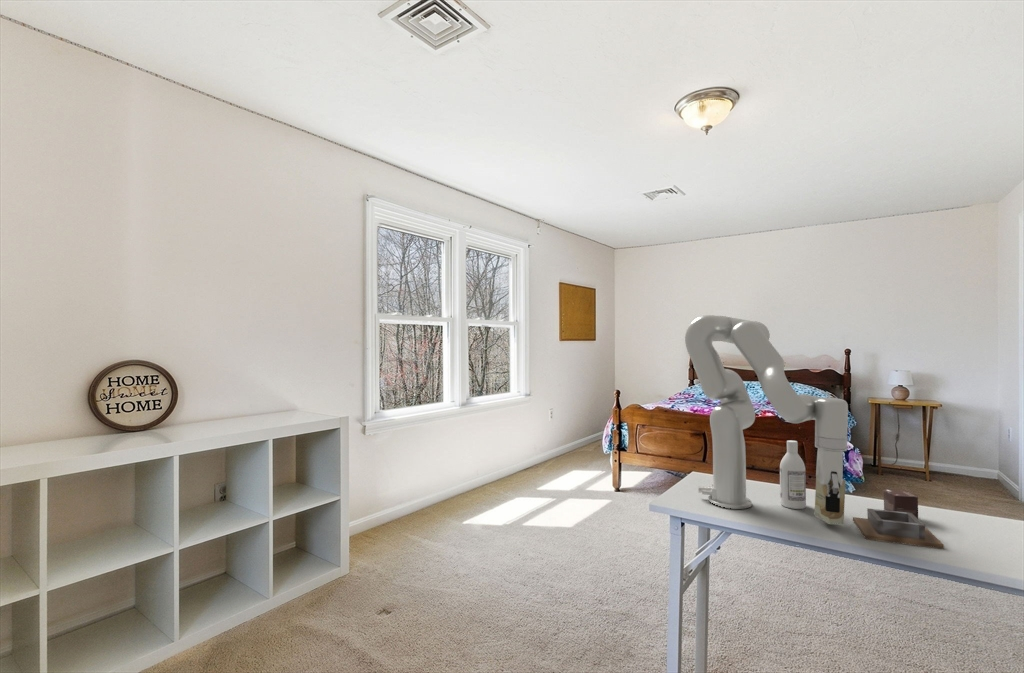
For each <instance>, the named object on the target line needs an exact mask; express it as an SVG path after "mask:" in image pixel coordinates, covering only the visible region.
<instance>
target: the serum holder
mask: <svg viewBox="0 0 1024 673" xmlns="http://www.w3.org/2000/svg"><path fill="white" fill-rule="evenodd" d="M866 509H867V510H866V511H867V514H866V515H867V518H866V517H865V518H864V517H855V516H853V517H852V521H854V522H853V523H854V524H855V526H856V527H857V529H858V528H859V529H858V530H859V532H860V533H861V535H862V536H863V537H864V539H866V540H870V541H878V542H879V541H880V542H887V543H893V542H895V544H902V543H904V545H910V544H911V546H918V545H919V547H925V548H935V549H936V548H937V549H945V546H944V543H943V542H941V540H939V539H938V538H937V536H936V535H935V534H933V533H932V532H931V531H930V529H928V528H927V527H926V525H925V524H924V523H923V522H922V521H921V520H920V519H919V518H918V519H917V518H916V517H915V516H914V515H913V514H912V513H908V512H898V511H888V510H884V509H877V508H869V507H868V508H866Z"/></svg>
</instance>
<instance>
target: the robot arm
mask: <svg viewBox="0 0 1024 673" xmlns="http://www.w3.org/2000/svg"><path fill="white" fill-rule="evenodd" d="M770 335H771V334H770V330H769V329H768V327H767V326H766V325H765V324H763V323H762V322H760V321H756V320H755V321H754V320H748V319H742V318H736V317H732V316H726V315H725V316H724V315H713V314H712V315H711V314H709V315H708V314H705V315H700V316H698V317H697V318H695V319H694V320H692V321H691V322H690V324H689V325H688V327H687V329H686V331H685V336H684V345H685V349H686V350H687V353H688V355H689V357H690V360H691V362H692V365H693V368H694V370H695V371H694V372H695V373H696V376H697V380H698V381H699V384H700V387H701V389H702V391H703V394H704V395H705V397H707V398H708V399H710V400H715V401H716V400H717V401H718V400H719V401H720V403H718V404H717V405H716V406H715V407H714V408H713V409H712V411H711V412H710V415H709V426H710V432H711V438H712V440H711V441H712V482H713V483H712V484H711V485H712V486H708V487H705V486H701V485H700V486H698V493H701V495H707V496H708V497H707V499H708V500H709V501H710V502H711V504H712V503H713V504H715V505H714V506H716V505H718V506H717V507H719V506H721V507H720V508H723V507H725V508H724V509H730V508H731V509H730V510H732V509H733V510H743V509H749V508H750V507H752V506H753V505H752V504H753V502H752V500H751V499H750V498H748V497H747V461H746V460H747V459H746V458H747V457H746V456H747V454H746V441H745V437H744V431H743V430H746V429H748V428H750V427H751V426H752V425H753V424H754V423H755V420H756V410H755V407H754V405H753V402H752V399H751V396H750V395H749V393H748V390H747V388H746V386H745V383H744V380H743V379H742V377H741V376H740V375H739V374H738V372H736V371H734V370H732V369H730V368H725V367H724V365H723V363H722V361H721V357H720V355H719V353H718V351H717V350H716V348H715V347H714V345H713V342H724V343H728V344H729V343H730V344H734V345H735V347H736V348H737V350H738V351H739V352H740V353H741V355H742V356H743V358H744V359H745V360H746V361H747V363H748V364H749V366H750V367H751V369H752V370H753V371H754V373H755V374H756V376H757V379H758V383H759V385H760V387H761V389H762V392H763V393H764V395H765V397H766V399H767V400H768V401H769V403H770V405H771V406H772V407H773V409H774V410H775V411H776V413H777V414H778V415H779V416H780V417H781V418H782V419H783V420H784V421H785V422H788V423H791V424H800V423H804V422H807V421H812V420H813V421H814V422H815V423H814V447H815V448H817V452H816V453H817V454H816V468H815V469H816V470H815V475H816V474H818V481H819V483H820V484H821V485H822V486H824V485H826V488H827V496H826V502H825V510H826V511H829V512H836V513H839V512H840V494H839V488H840V487H842V481H843V480H844V478H843V477H844V475H843V471H844V467H843V466H844V463H843V461H844V459H843V455H844V454H843V452H847V451H848V425H849V424H848V421H849V419H848V418H849V404H848V401H846V400H845V399H842V398H836V397H821V396H815V395H812V394H806V393H800V394H798V393H797V392H796V390H795V389H794V387H793V386H792V384H791V383H790V382H789V380H788V379H787V378H788V377H787V376H786V374H785V361H784V358H783V356H781V354H780V353H779V352H778V350H777V349H776V348H775V347H774V346H773V344H772V343H771V342H770ZM830 480H831V481H832V485H829V484H828V483H829V482H830ZM839 483H840V484H839ZM830 488H832V489H831V490H830ZM709 501H708V502H709ZM710 502H709V503H710ZM713 504H712V505H713Z"/></svg>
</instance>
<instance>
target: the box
mask: <svg viewBox="0 0 1024 673" xmlns="http://www.w3.org/2000/svg"><path fill="white" fill-rule="evenodd" d="M883 510H888V511H898V512H908V513H912V514H913V515H914V516H915V517H916V518H917V519H918V520H919V496H917V495H915V494H913V493H912V492H909V491H908V490H905V489H904V490H902V489H899V490H898V489H897V490H896V489H883Z"/></svg>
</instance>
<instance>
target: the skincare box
mask: <svg viewBox="0 0 1024 673" xmlns="http://www.w3.org/2000/svg"><path fill="white" fill-rule="evenodd" d="M815 477H816V478H815V494H814V495H815V496H814V517H816V518H818V519H820V521H823V522H824V523H826V524H828V525H844V521H845V520H844V518H845V499H846V480H845V479H843V481H842V487H840V488H839V494H840V512H839V513H836V512H829V511H826V510H825V502H826V496H827V488H826V485H824V486H822V485H821V484H820V483H819V481H818V474H816V473H815ZM828 484H829V485H832V481H831V480H830V482H829V483H828ZM839 484H840V483H839ZM831 489H832V488H830V490H831Z"/></svg>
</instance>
